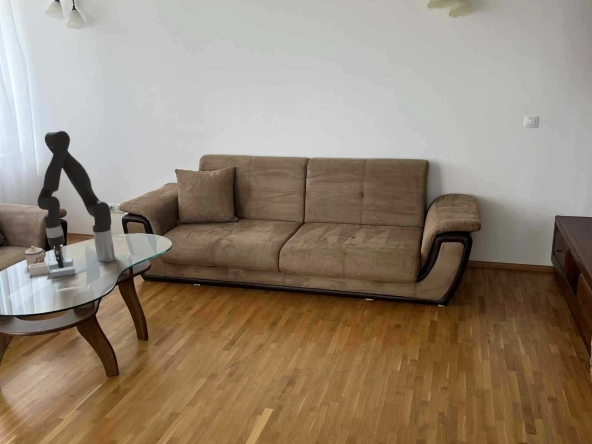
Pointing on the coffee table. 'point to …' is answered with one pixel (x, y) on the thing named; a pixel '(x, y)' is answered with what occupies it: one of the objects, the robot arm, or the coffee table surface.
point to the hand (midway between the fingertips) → (61, 265)
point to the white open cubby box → (39, 268)
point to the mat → (61, 274)
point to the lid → (66, 262)
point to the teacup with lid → (35, 255)
